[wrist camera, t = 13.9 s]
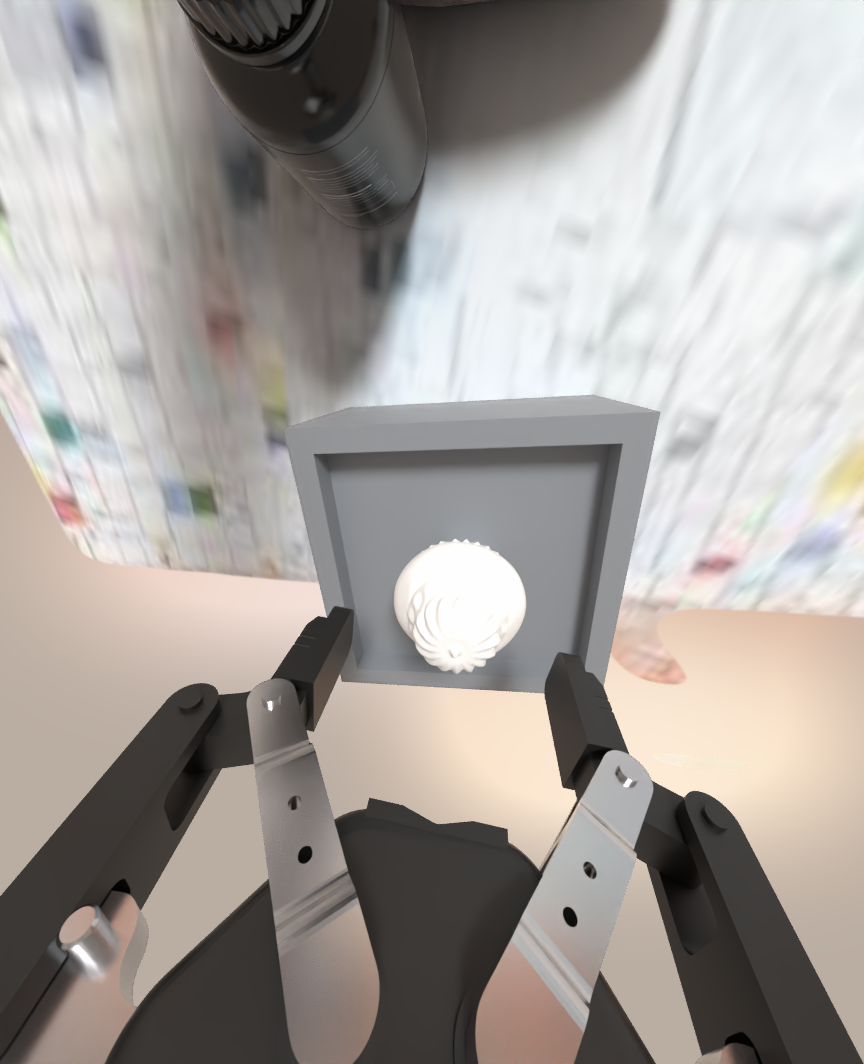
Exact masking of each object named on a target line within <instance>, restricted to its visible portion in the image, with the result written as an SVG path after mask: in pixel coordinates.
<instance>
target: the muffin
mask: <svg viewBox="0 0 864 1064" xmlns="http://www.w3.org/2000/svg"><path fill="white" fill-rule="evenodd" d="M394 609H395V613H396V617H397V619H398V622H399V624H400V625H401V627H402V629H403V630H404V631H405V633H406V634H407V635H408V636H409V637H410V638H411V639H412V640H413V641H414V642H415V645H416V649H417V650H418V652H419V653H420V654H421V655H422V656H424V658H425V660H426V661H427V662H428V663H429V664H431V665H433V666H437V667H438V668H439V669H440V670H442V671H448V670H452V671H453V672H454V673H456V674H458V673H460V672H461V671H462V670H466V671H468V672H472V671H473V669H474V667H475V666H478V667H483V666H485V664H486V659H489V658H492V657H494V656H495V654H496V652H498V651H499V650H501V649H502V648H503V647H504V646H506V645H507V644H508V643H509V642H510V641H511V639H512V638H513V637H514V636H515V634H516V633H517V631H518V630H519V628H520V626H521V624H522V622H523V619H524V616H525V611H526V595H525V590H524V587H523V584H522V581H521V579H520V577H519V575H518V573H517V572H516V570H515V569H514V568H513V566H512V565H511V564H510V563H509V562H508V561H507V560H505V559H504V558H503V557H502V556H500V555H499V553H498V552H495V551H492V550H490V547H489V546H484V545H480V544H479V542H469V541H468V540H467V539H466V540H464V541H463V542H460V541H459V540H457V539H454V540H453V541H452V542H446V541H440V543H439V544H437V545H430V547H429V548H428V549H426V550H424V551H421V553H419V554H418V555H417V556H415V557H414V558H413V559H412V560H411V561H410V562H409V563H408V564H407V565H406V567H405V568H404V569H403V571H402V572H401V574H400V576H399V577H398V580H397V582H396V586H395V590H394Z"/></svg>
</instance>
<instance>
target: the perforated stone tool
mask: <svg viewBox="0 0 864 1064" xmlns="http://www.w3.org/2000/svg"><path fill="white" fill-rule="evenodd" d="M483 1H491V0H400V3H401V4H406V5H416V6H427V7H446V6H450V5H457V4H468V3H477V2H483Z"/></svg>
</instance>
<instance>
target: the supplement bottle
mask: <svg viewBox="0 0 864 1064" xmlns="http://www.w3.org/2000/svg"><path fill="white" fill-rule="evenodd" d="M177 1H178V3H179V4H180V6H181V8H182V9H183V11H184V13H185V17H186V21H187V24H188V28H189V31H190V34H191V37H192V40H193V43H194V46H195V49H196V51H197V54H198V56H199V59H200V61H201V63H202V65H203V68H204V70H205V72H206V74H207V76H208V78H209V80H210V81H211V83H212V85H213V87H214V89H215V90H216V92H217V93H218V95H219V96H220V98H221V100H222V101H223V102H224V104H225V105H226V106H227V108H228V109H229V110H230V111H231V113H232V114H233V115H234V116H235V117H236V118H237V120H238V121H239V122H240V123H241V124H242V125H243V126H244V128H245V129H246V130H247V131H248V132H249V133H250V134H251V135H252V136H253V137H254V138H255V139H256V140H257V141H258V142H259V143H260V144H261V145H262V146H263V147H264V148H265V149H266V150H267V151H268V152H269V153H270V154H271V155H272V156H273V157H274V158H275V159H276V160H277V161H278V162H279V164H280V165H281V166H282V167H283V168H284V169H285V170H286V171H287V172H288V173H289V174H290V175H291V176H292V177H293V178H294V179H295V180H296V181H297V182H298V183H299V184H300V185H301V186H302V187H303V188H304V189H305V190H306V191H307V192H308V193H309V194H310V195H311V196H312V197H313V198H314V199H315V200H316V201H317V202H318V203H319V204H320V205H321V206H322V207H323V208H324V209H325V210H326V211H327V212H328V213H329V214H330V215H332V216H333V217H334V218H336V219H337V220H339V221H340V222H342V223H344V224H346V225H348V226H352V227H355V228H363V229H368V228H376V227H379V226H382V225H385V224H387V223H389V222H390V221H392V220H393V219H395V218H396V217H397V216H398V215H399V214H401V213H402V212H403V211H404V209H405V208H406V207H407V206H408V204H409V203H410V201H411V200H412V198H413V196H414V195H415V193H416V191H417V188H418V186H419V184H420V181H421V178H422V175H423V171H424V167H425V162H426V154H427V127H426V118H425V112H424V107H423V102H422V97H421V92H420V88H419V84H418V79H417V75H416V70H415V66H414V61H413V57H412V52H411V48H410V43H409V39H408V34H407V30H406V25H405V21H404V17H403V12H402V8H401V3H400V0H177Z"/></svg>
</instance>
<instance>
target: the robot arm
mask: <svg viewBox="0 0 864 1064" xmlns="http://www.w3.org/2000/svg"><path fill="white" fill-rule="evenodd" d="M353 624H354V610H353V609H349V608H344V607H339V606H334V607H333V609H332V610H331V612H330V614H329V615H328V617H327V618H325V617H320V616H318V617H316V618H315V619H314V620H312V621H311V622H309V623H308V624H307V625H306V627H305V628H304V630H303V631H302V633H301V634H300V636H299V637H298V639H297V640H296V642H295V644H294V645H293V646H292V648H291V649H290V651H289V652H288V654H287V655H286V657H285V658H284V660H283V661H282V663H281V665H280V666H279V667H278V669H277V671H276V672H275V674H274V675H273V676H272V678H271V679H270V680H267V681H264V682H262V683H260V684H259V685H257V686H256V687H255V688H254V689H253V690H252V691H249V692H246V693H236V694H225V695H218V691H217V689H216V688H215V687H214V686H212V685H210V684H205V683H200V684H199V683H198V684H193V685H189V686H187V687H184V688H182V689H180V690H178V691H177V692H175V693H174V694H173V695H171V697H169V698H168V699H167V701H166V702H165V703H164V704H163V705H162V707H161V708H160V709H159V710H158V711H157V712H156V714H155V715H154V716H153V717H152V718H151V719H150V721H149V722H148V723H147V724H146V725H145V727H144V728H143V729H142V730H141V731H140V733H139V734H138V735H137V736H136V737H135V738H134V740H133V741H132V742H131V743H130V744H129V745H128V747H127V748H126V749H125V750H124V751H123V752H122V754H121V755H120V756H119V757H118V758H117V760H116V761H115V762H114V763H113V764H112V766H111V767H110V768H109V769H108V770H107V771H106V772H105V774H104V775H103V776H102V777H101V778H100V780H99V781H98V782H97V783H96V784H95V785H94V787H93V788H92V789H91V790H90V791H89V793H88V794H87V795H86V796H85V797H84V798H83V800H82V801H81V802H80V803H79V804H78V806H77V807H76V808H75V809H74V810H73V811H72V813H71V814H70V815H69V816H68V817H67V818H66V820H65V821H64V822H63V823H62V824H61V826H60V827H59V828H58V829H57V830H56V831H55V833H54V834H53V835H52V836H51V837H50V838H49V840H48V841H47V842H46V843H45V844H44V846H43V847H42V848H41V849H40V850H39V852H38V853H37V854H36V855H35V856H34V857H33V859H32V860H31V861H30V862H29V863H28V864H27V866H26V867H25V868H24V869H23V870H22V872H21V873H20V874H19V875H18V876H17V878H16V879H15V880H14V881H13V882H12V883H11V885H10V886H9V887H8V888H7V889H6V890H5V892H4V893H3V894H2V895H1V896H0V1064H656V1063H655V1062H654V1060H653V1058H652V1057H651V1055H650V1053H649V1052H648V1050H647V1048H646V1047H645V1045H644V1044H643V1042H642V1040H641V1038H640V1037H639V1035H638V1033H637V1032H636V1030H635V1028H634V1026H633V1025H632V1023H631V1022H630V1020H629V1018H628V1017H627V1015H626V1013H625V1011H624V1010H623V1008H622V1006H621V1005H620V1003H619V1002H618V1000H617V998H616V997H615V995H614V994H613V992H612V990H611V988H610V986H609V985H608V983H607V981H606V980H605V978H604V976H603V975H602V973H601V971H600V968H601V965H602V962H603V959H604V956H605V953H606V950H607V947H608V944H609V941H610V938H611V935H612V932H613V929H614V926H615V923H616V919H617V916H618V913H619V910H620V907H621V904H622V901H623V898H624V895H625V892H626V889H627V886H628V883H629V880H630V877H631V874H632V871H633V868H634V864H635V861H636V858H638V859H639V860H641V861H643V862H645V863H646V864H647V867H648V871H649V874H650V878H651V881H652V884H653V888H654V891H655V895H656V898H657V902H658V905H659V908H660V912H661V915H662V919H663V922H664V925H665V929H666V932H667V936H668V940H669V943H670V947H671V950H672V953H673V957H674V960H675V964H676V967H677V971H678V974H679V978H680V981H681V985H682V988H683V991H684V995H685V998H686V1002H687V1005H688V1009H689V1012H690V1015H691V1019H692V1022H693V1026H694V1029H695V1033H696V1036H697V1039H698V1043H699V1046H700V1050H701V1053H702V1056H701V1057H700V1058H699V1059H698V1060H697V1061H696V1064H863V1062H862V1060H861V1058H860V1056H859V1054H858V1052H857V1050H856V1048H855V1046H854V1044H853V1042H852V1041H851V1039H850V1037H849V1035H848V1033H847V1031H846V1029H845V1027H844V1025H843V1023H842V1021H841V1019H840V1017H839V1015H838V1014H837V1012H836V1010H835V1008H834V1006H833V1004H832V1002H831V1000H830V998H829V996H828V994H827V992H826V990H825V988H824V987H823V985H822V983H821V981H820V979H819V977H818V975H817V973H816V971H815V969H814V967H813V965H812V963H811V962H810V960H809V958H808V956H807V954H806V952H805V950H804V948H803V946H802V944H801V942H800V940H799V938H798V936H797V934H796V933H795V931H794V929H793V927H792V925H791V923H790V921H789V919H788V917H787V915H786V913H785V912H784V909H783V907H782V906H781V904H780V902H779V900H778V898H777V896H776V894H775V892H774V890H773V888H772V886H771V884H770V882H769V881H768V879H767V877H766V875H765V873H764V871H763V869H762V867H761V866H760V863H759V861H758V859H757V857H756V856H755V853H754V852H753V850H752V848H751V846H750V844H749V842H748V840H747V838H746V836H745V834H744V832H743V831H742V829H741V827H740V825H739V823H738V821H737V820H736V819H735V817H734V816H733V815H732V814H731V812H730V811H729V810H728V809H727V808H726V807H725V806H724V805H722V804H721V803H720V802H719V801H718V800H716V799H715V798H713V797H712V796H710V795H707V794H705V793H702V792H699V791H692V792H689V793H688V794H687V795H686V796H685V797H684V798H683V797H682V796H679V795H678V794H676V793H674V792H672V791H670V790H668V789H666V788H664V787H662V786H660V785H658V784H657V783H655V782H653V781H652V780H651V778H650V776H649V774H648V773H647V771H646V769H645V768H644V767H643V766H642V765H641V764H640V763H639V762H638V761H637V760H636V759H635V758H633V757H632V756H630V755H629V752H628V750H627V747H626V745H625V742H624V739H623V737H622V734H621V732H620V729H619V726H618V724H617V721H616V719H615V716H614V713H613V712H612V708H611V706H610V703H609V701H608V698H607V695H606V693H605V690H604V687H603V685H602V684H601V683H600V681H599V680H598V679H597V678H596V676H595V675H594V674H593V673H590V672H586V670H585V667H584V664H583V661H582V659H581V657H580V656H577V655H572V654H567V653H562V652H558V653H557V655H556V657H555V659H554V662H553V664H552V667H551V669H550V671H549V674H548V676H547V678H546V681H545V688H544V694H545V700H546V705H547V710H548V715H549V720H550V725H551V730H552V736H553V741H554V746H555V751H556V756H557V761H558V766H559V771H560V776H561V781H562V786H563V788H567V789H572V790H575V792H576V797H577V801H576V802H575V804H574V805H573V807H572V809H571V811H570V813H569V815H568V817H567V819H566V821H565V822H564V824H563V826H562V828H561V830H560V832H559V833H558V835H557V837H556V839H555V841H554V843H553V845H552V847H551V848H550V850H549V852H548V854H547V856H546V857H545V859H544V861H543V863H542V864H541V866H540V868H539V869H538V868H537V867H536V866H535V865H534V864H533V862H532V861H531V860H530V859H529V858H528V857H527V856H526V855H525V854H524V853H522V852H521V851H520V850H519V849H518V848H516V847H515V846H514V845H512V844H510V843H509V842H508V832H507V829H504V828H501V827H496V826H492V825H487V824H483V823H479V822H474V821H471V822H459V823H449V824H435V823H433V822H431V821H430V820H428V819H426V818H424V817H422V816H421V815H419V814H417V813H415V812H414V811H412V810H410V809H408V808H406V807H405V806H403V805H399V804H394V803H390V802H386V801H381V800H377V799H372V798H369V801H368V806H367V809H363V810H357V811H353V812H349V813H347V814H344V815H342V816H340V817H338V818H337V819H335V820H334V818H333V814H332V811H331V807H330V803H329V799H328V796H327V792H326V788H325V785H324V781H323V777H322V774H321V770H320V767H319V763H318V759H317V756H316V752H315V749H314V746H313V744H312V743H310V741H309V739H308V735H307V731H306V730H309V731H313V732H314V730H315V728H316V725H317V723H318V721H319V719H320V717H321V714H322V712H323V710H324V707H325V705H326V703H327V701H328V699H329V696H330V694H331V692H332V690H333V688H334V685H335V683H336V681H337V679H338V676H339V674H340V672H341V670H342V668H343V665H344V663H345V661H346V659H347V656H348V654H349V651H350V648H351V644H352V638H353ZM249 764H254V766H255V773H256V782H257V790H258V798H259V806H260V813H261V821H262V829H263V837H264V845H265V852H266V860H267V868H268V875H269V879H268V880H267V881H266V882H264V883H263V884H262V885H261V886H260V887H259V888H258V889H257V890H256V891H255V892H254V893H253V894H252V895H251V896H249V897H248V899H246V900H245V901H244V902H243V903H242V904H241V905H240V906H239V907H238V908H237V909H236V910H234V911H233V912H232V913H231V914H230V915H229V916H228V917H227V918H226V919H225V920H224V921H223V922H222V923H221V924H219V925H218V926H217V927H216V928H215V929H214V930H213V931H212V932H211V933H210V934H209V935H208V936H207V937H205V938H204V939H203V940H202V941H201V942H200V943H199V944H198V945H197V946H196V947H195V948H194V949H193V950H192V951H190V952H189V953H188V954H187V955H186V956H185V957H184V958H183V959H182V960H181V961H180V962H179V963H178V964H176V965H175V966H174V968H172V969H171V970H170V971H169V972H168V973H167V974H166V975H165V976H164V977H163V978H162V979H161V980H160V981H159V982H158V983H157V984H156V985H155V986H154V988H153V989H152V990H151V991H150V992H149V993H148V994H147V996H146V997H145V998H144V1000H143V1001H142V1002H141V1003H140V1005H139V1006H138V1007H136V1006H134V1005H133V997H132V996H133V985H134V979H135V976H136V973H137V969H138V967H139V965H140V963H141V960H142V957H143V955H144V953H145V950H146V946H147V942H148V931H149V930H148V925H147V922H146V920H145V918H144V916H143V914H142V913H141V909H142V907H143V905H144V904H145V902H146V900H147V899H148V897H149V895H150V893H151V891H152V890H153V888H154V886H155V884H156V883H157V881H158V879H159V878H160V876H161V874H162V872H163V871H164V869H165V867H166V865H167V864H168V862H169V860H170V858H171V857H172V855H173V853H174V851H175V849H176V848H177V846H178V844H179V843H180V841H181V839H182V837H183V836H184V834H185V832H186V830H187V828H188V827H189V825H190V823H191V822H192V820H193V818H194V816H195V814H196V813H197V811H198V809H199V808H200V806H201V804H202V802H203V801H204V799H205V797H206V795H207V794H208V792H209V790H210V788H211V787H212V785H213V783H214V781H215V780H216V778H217V776H218V774H219V773H220V771H221V769H222V768H228V767H235V766H242V765H249Z"/></svg>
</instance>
